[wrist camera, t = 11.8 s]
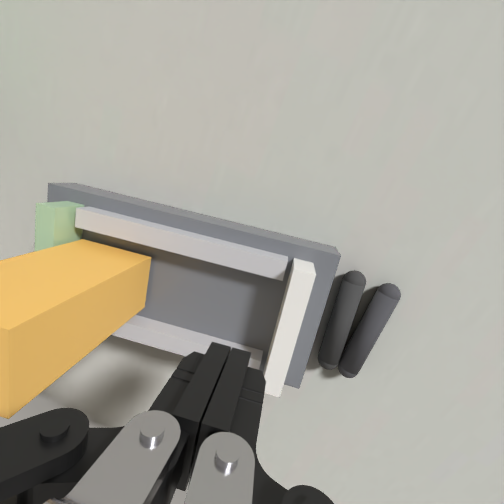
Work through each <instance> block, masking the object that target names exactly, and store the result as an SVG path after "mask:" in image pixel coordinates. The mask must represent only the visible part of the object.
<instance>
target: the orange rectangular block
mask: <svg viewBox="0 0 504 504" xmlns="http://www.w3.org/2000/svg"><path fill="white" fill-rule="evenodd" d="M150 264H151V257H149V256H145V255H141V254H138V253H134V252H130V251H126V250H122V249H119V248H115V247H111V246H107V245H104V244H100V243H96V242H92V241H88V240H85V239H81V240H78V241H74V242H70V243H66V244H62V245H58V246H54V247H51V248H47V249H43V250H39V251H35V252H31V253H28V254H24V255H20V256H16V257H12V258H8V259H5V260H1V261H0V416H1V417H4V418H7V419H9V418H10V417H12V416H13V415H14V414H15V413H16V412H18V411H19V410H20V409H21V408H23V407H24V406H25V405H26V404H27V403H29V402H30V401H31V400H32V399H33V398H35V397H36V396H37V395H38V394H40V393H41V392H42V391H43V390H44V389H46V388H47V387H48V386H49V385H51V384H52V383H53V382H54V381H55V380H57V379H58V378H59V377H60V376H61V375H63V374H64V373H65V372H66V371H68V370H69V369H70V368H71V367H72V366H74V365H75V364H76V363H77V362H79V361H80V360H81V359H82V358H83V357H85V356H86V355H87V354H88V353H89V352H91V351H92V350H93V349H94V348H96V347H97V346H98V345H99V344H100V343H102V342H103V341H104V340H105V339H107V338H108V337H109V336H110V335H111V334H113V333H114V332H115V331H116V330H118V329H119V328H120V327H121V326H122V325H124V324H125V323H126V322H127V321H128V320H130V319H131V318H132V317H133V316H135V315H136V314H137V313H138V312H139V311H141V310H142V309H143V308H144V307H145V301H146V293H147V286H148V279H149V271H150Z"/></svg>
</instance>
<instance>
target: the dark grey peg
mask: <svg viewBox="0 0 504 504" xmlns="http://www.w3.org/2000/svg"><path fill="white" fill-rule="evenodd" d="M365 285H366V279H365V277H364V275H363V274H362V273H361V272H359V271H349V272H348V273H346V274H345V276H344V278H343V280H342V284H341V287H340V290H339V293H338V296H337V299H336V302H335V305H334V308H333V311H332V315H331V318H330V321H329V324H328V327H327V330H326V333H325V336H324V339H323V342H322V345H321V349H320V352H319V355H318V361H319V363H320V365H321V366H322V367H323V368H325V369H334V368H335V367H336V366H337V365H338V363H339V360H340V357H341V354H342V351H343V348H344V345H345V343H346V340H347V337H348V334H349V331H350V328H351V325H352V322H353V319H354V317H355V314H356V311H357V308H358V305H359V302H360V299H361V296H362V294H363V291H364V288H365Z"/></svg>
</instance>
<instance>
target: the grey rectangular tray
mask: <svg viewBox="0 0 504 504" xmlns="http://www.w3.org/2000/svg"><path fill="white" fill-rule="evenodd" d="M81 239H85V240H88V241H92V242H96V243H100V244H104V245H107V246H111V247H115V248H119V249H122V250H126V251H130V252H134V253H138V254H141V255H145V256H149V257H151V264H150V271H149V279H148V286H147V293H146V301H145V307H144V308H143V309H142V310H141V311H139V312H138V313H137V314H136V315H135V316H133V317H132V318H131V319H130V320H128V321H127V322H126V323H125V324H124V325H122V326H121V327H120V328H119V329H118V330H116V331H115V332H114V333H113V334H111V335H114V336H117V337H121V338H124V339H127V340H131V341H134V342H138V343H141V344H144V345H148V346H151V347H155V348H158V349H162V350H165V351H168V352H172V353H175V354H179V355H182V356H187V355H189V354H191V353H192V352H194V351H195V352H199V353H202V354H205V353H206V352H207V350H208V348H209V346H210V344H211V343H212V342H216V343H219V344H223V345H226V346H230V347H231V350H232V347H234V348H237V349H241V350H244V351H248V352H251V357H250V361H249V365H248V367H251V368H254V369H258V370H261V371H262V372H263V375H264V378H265V380H266V386H265V392H264V393H266V394H269V395H272V396H276V397H279V398H280V395H281V392H282V388H283V385H284V384H285V385H288V386H292V387H295V388H300V384H301V381H302V378H303V375H304V372H305V369H306V365H307V362H308V359H309V356H310V353H311V349H312V346H313V343H314V340H315V337H316V334H317V330H318V327H319V324H320V321H321V318H322V315H323V311H324V308H325V305H326V302H327V299H328V295H329V292H330V289H331V286H332V283H333V280H334V276H335V273H336V270H337V267H338V264H339V260H340V257H341V255H340V253H339V252H338V250H337V249H336V247H333V246H328V245H324V244H320V243H316V242H312V241H308V240H304V239H300V238H296V237H292V236H288V235H284V234H280V233H276V232H272V231H268V230H263V229H259V228H255V227H251V226H247V225H243V224H239V223H235V222H231V221H227V220H223V219H219V218H215V217H211V216H207V215H203V214H198V213H194V212H190V211H186V210H182V209H178V208H174V207H170V206H166V205H162V204H158V203H154V202H150V201H146V200H142V199H138V198H133V197H129V196H125V195H121V194H117V193H113V192H109V191H105V190H101V189H97V188H93V187H89V186H85V185H81V184H77V183H48V201H47V202H46V203H36V219H35V251H39V250H43V249H47V248H51V247H54V246H58V245H62V244H66V243H70V242H74V241H78V240H81Z"/></svg>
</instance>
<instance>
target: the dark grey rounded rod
mask: <svg viewBox="0 0 504 504" xmlns="http://www.w3.org/2000/svg"><path fill="white" fill-rule="evenodd" d="M400 297H401V293H400V290H399V289H398V287H397V286H395V285H393V284H390V283H386V284H383V285H381V286H380V287H379V288H378V289H377V291H376V293H375V295H374V297H373V299H372V300H371V302H370V304H369V306H368V308H367V310H366V312H365V314H364V315H363V317H362V319H361V321H360V323H359V325H358V327H357V328H356V330H355V332H354V334H353V336H352V338H351V340H350V342H349V343H348V345H347V347H346V349H345V351H344V353H343V355H342V356H341V358H340V360H339V363H338V369H339V372H340V373H341V374H342V375H343V376H344V377H347V378H353V377H355V376H356V375H357V374H358V372H359V371H360V369H361V367H362V365H363V364H364V362H365V360H366V358H367V356H368V355H369V353H370V351H371V349H372V348H373V346H374V344H375V342H376V341H377V339H378V337H379V335H380V333H381V332H382V330H383V328H384V326H385V325H386V323H387V321H388V319H389V318H390V316H391V314H392V312H393V310H394V309H395V307H396V305H397V303H398V302H399V300H400Z"/></svg>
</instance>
